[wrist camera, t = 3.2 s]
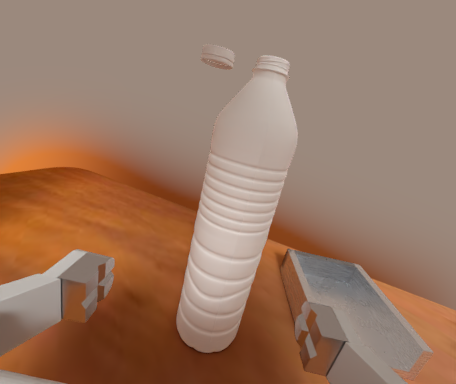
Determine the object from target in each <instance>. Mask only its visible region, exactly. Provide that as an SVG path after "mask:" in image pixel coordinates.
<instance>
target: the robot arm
mask: <svg viewBox="0 0 456 384" xmlns="http://www.w3.org/2000/svg"><path fill="white" fill-rule="evenodd" d="M113 267H114V259H113V258H111V257H107V256H103V255H99V254H96V253H92V252H87V251H83V250H79V249H77V250H73V251H72V252H71V253H69V254H68V255H67V256H66V257H64V258H63V259H62V260H60V261H59V262H58V263H56V264H55V265H54V266H52V267H51V268H50V269H49V270H47V271H46V272H45V273H43V274H42V275H41V274H35V275H32V276H29V277H26V278H23V279H20V280H17V281H13V282H10V283H7V284H4V285H1V286H0V356H2V355H4V354H5V353H7V352H9V351H10V350H12V349H14V348H15V347H17V346H19V345H20V344H22V343H24V342H25V341H27V340H29V339H31V338H32V337H34V336H36V335H37V334H39V333H41V332H42V331H44V330H46V329H47V328H49V327H51V326H52V325H54V324H56V323H58V322H59V321H61V319H65V320H70V321H76V322H81V323H86V321H87V320H88V319H89V317H90V316H91V315H92V314H93V312H94V311H95V310H96V308H97V302H99V301H101V300H103V299H104V298H105V297H106V295H107V294H108V292H109V290H110V288H111V286H112V283H113V277H114V275H113V273H112V272H111V270H112V268H113ZM301 309H302V312H303V313H302V314H300V315H299V316H298V317H297V319H296V322H295V337H296V341H297V343H298V344H299V345H300V346H301V351H300V356H301V360H302V364H303V368H304V371H306V372H310V373H314V374H318V375H322V376H326V378H327V380H328V381H329V383H330V384H408V383H407V382H405V381H404V380H403V379H402V378H401V377H400V376H399V375H398V374H397V373H396V372H394V371H393V370H392V369H391V368H390V367H389V366H388V365H387V364H386V363H385V362H383V361H382V360H381V359H380V358H379V357H378V356H377V355H376V354H375V353H374V352H372V351H371V350H370V349H369V348H368V347H366V346H363V344H362V343H361V341H360V339H359V337H358V335H357V334H356V332H355V330H354V328H353V326H352V325H351V323H350V321H349V319H348V318H347V316H346V314H345V312H344V311H343V310H342V309H341V308H336V307H331V306H325V305H321V304H316V303H312V302H307V301H305V302H304V303H303V305H302V307H301ZM0 384H66V383H62V382H57V381H52V380H48V379H43V378H38V377H33V376H29V375H24V374H19V373H14V372H10V371H5V370H0Z"/></svg>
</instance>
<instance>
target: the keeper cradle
mask: <svg viewBox="0 0 456 384" xmlns="http://www.w3.org/2000/svg"><path fill="white" fill-rule="evenodd" d="M280 272H281V276H282V279H283V283H284V286H285V290H286V294H287V297H288V301H289V304H290V308H291V312H292V315H293V319H294V323H295V322H296V319H297V317H298V316H299V315H300V314H302V313H303V312H302V309H301V307H302V305H303V303H304V302H305V301H307V302H312V303H316V304H321V305H325V306H331V307H336V308H341V309H342V310H343V311H344V312H345V314H346V316H347V318H348V319H349V321H350V323H351V325H352V326H353V328H354V330H355V332H356V334H357V335H358V337H359V339H360V341H361V343H362V344H363V346H366V347H368V348H369V349H370V350H371V351H372V352H374V353H375V354H376V355H377V356H378V357H379V358H380V359H381V360H382V361H383V362H385V363H386V364H387V365H388V366H389V367H390V368H391V369H392V370H393V371H394V372H396V373H397V374H398V375H399V376H400V377H401V378H405V379H409V380H414V379H415V378H416V376H417V375H418V374H419V372H420V371H421V370H422V368H423V367H424V366H425V364H426V363H427V361H428V360H429V359H430V357H431V356H432V355H433V351H432V350H431V349H430V348H429V347H428V345H427V344H426V343H425V342H424V341H423V340H422V338H421V337H420V336H419V335H418V334H417V332H416V331H415V330H414V329H413V328H412V327H411V325H410V324H409V323H408V322H407V321H406V319H405V318H404V317H403V316H402V315H401V313H400V312H399V311H398V310H397V309H396V308H395V306H394V305H393V304H392V303H391V302H390V300H389V299H388V298H387V297H386V296H385V295H384V293H383V292H382V291H381V290H380V289H379V287H378V286H377V285H376V284H375V283H374V282H373V280H372V279H371V278H370V277H369V276H368V274H367V273H366V272H365V271H364V270H363V269H362V267H361V266H360V265H358V264H353V263H349V262H344V261H340V260H336V259H331V258H326V257H322V256H318V255H313V254H309V253H305V252H300V251H296V250H291V249H287V252H286V254H285V257H284V260H283V263H282V266H281V268H280Z"/></svg>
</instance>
